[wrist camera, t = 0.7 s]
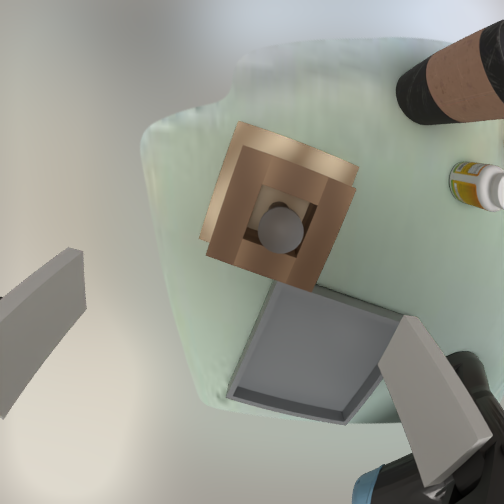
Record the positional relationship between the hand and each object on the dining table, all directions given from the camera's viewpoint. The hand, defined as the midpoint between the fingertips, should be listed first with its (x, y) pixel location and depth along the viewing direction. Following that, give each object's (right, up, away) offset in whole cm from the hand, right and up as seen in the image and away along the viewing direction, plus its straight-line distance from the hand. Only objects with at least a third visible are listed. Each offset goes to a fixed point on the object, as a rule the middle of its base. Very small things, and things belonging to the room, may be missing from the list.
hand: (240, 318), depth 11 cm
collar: (+3, +6, +15) cm, 17 cm away
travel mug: (+21, +21, +18) cm, 35 cm away
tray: (+10, -12, +29) cm, 33 cm away
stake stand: (+3, +8, +23) cm, 25 cm away
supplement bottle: (+28, +12, +20) cm, 36 cm away
